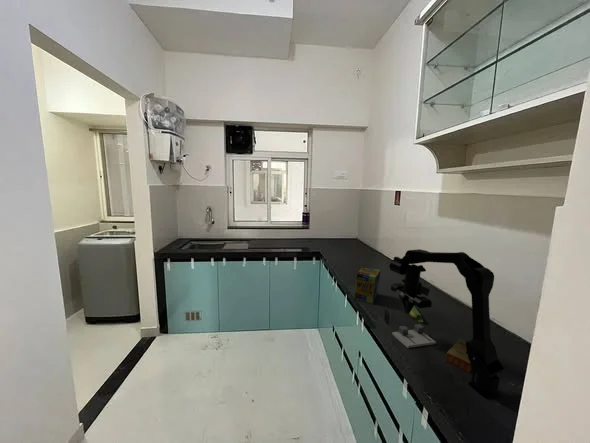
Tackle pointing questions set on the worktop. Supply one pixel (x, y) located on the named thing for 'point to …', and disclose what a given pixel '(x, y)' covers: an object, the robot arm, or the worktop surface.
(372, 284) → the protein box
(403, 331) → the breaker
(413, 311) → the edible corn
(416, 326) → the block
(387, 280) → the worktop surface
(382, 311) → the worktop surface
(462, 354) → the carton
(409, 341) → the breaker board
